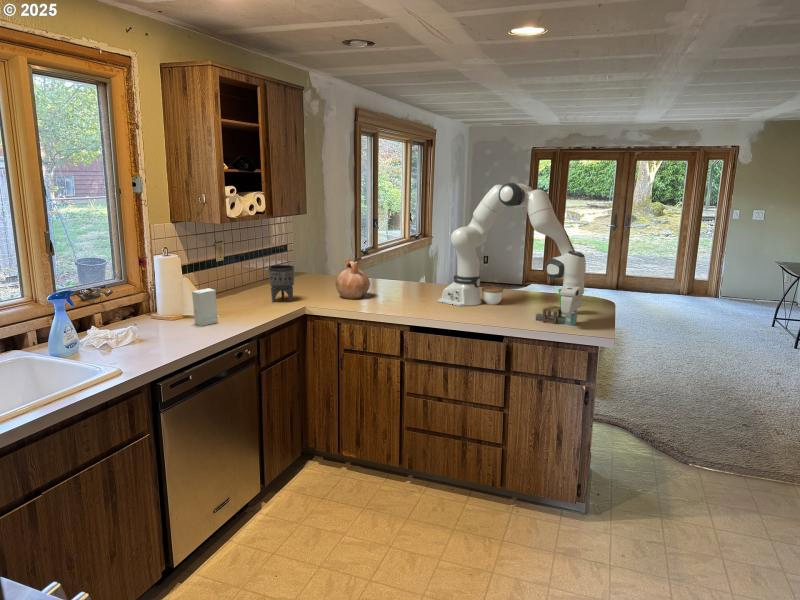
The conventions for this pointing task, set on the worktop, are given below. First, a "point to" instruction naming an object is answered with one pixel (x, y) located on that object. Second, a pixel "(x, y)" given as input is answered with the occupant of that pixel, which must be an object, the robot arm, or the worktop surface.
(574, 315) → the block
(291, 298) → the planter
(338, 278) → the jug
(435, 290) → the worktop surface
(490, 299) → the lidded jar
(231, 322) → the worktop surface
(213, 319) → the skincare box
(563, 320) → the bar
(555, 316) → the cover
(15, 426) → the worktop surface
